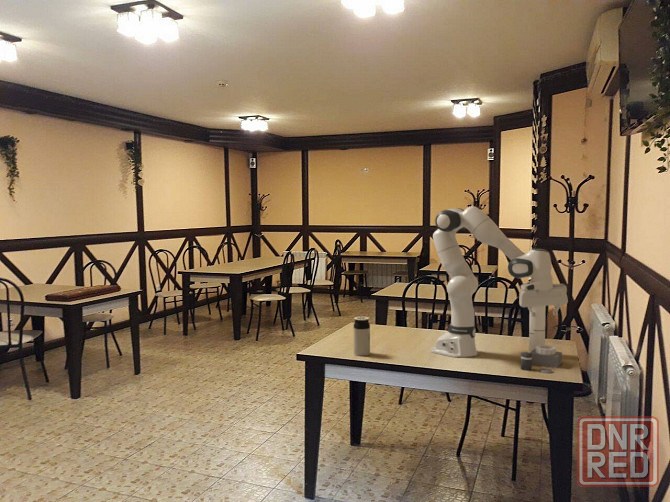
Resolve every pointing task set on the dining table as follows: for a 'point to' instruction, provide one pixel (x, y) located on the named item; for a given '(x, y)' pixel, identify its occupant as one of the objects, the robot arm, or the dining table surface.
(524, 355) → the lens
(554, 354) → the grey box with knob
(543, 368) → the lens cap
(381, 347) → the dining table surface
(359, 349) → the travel mug
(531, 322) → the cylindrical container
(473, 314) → the robot arm
